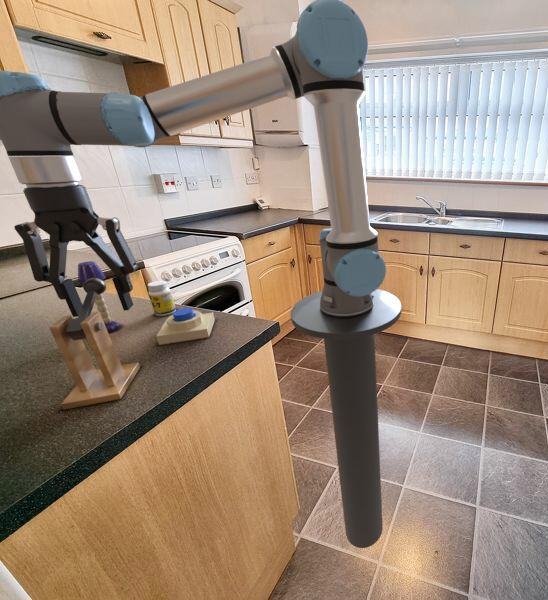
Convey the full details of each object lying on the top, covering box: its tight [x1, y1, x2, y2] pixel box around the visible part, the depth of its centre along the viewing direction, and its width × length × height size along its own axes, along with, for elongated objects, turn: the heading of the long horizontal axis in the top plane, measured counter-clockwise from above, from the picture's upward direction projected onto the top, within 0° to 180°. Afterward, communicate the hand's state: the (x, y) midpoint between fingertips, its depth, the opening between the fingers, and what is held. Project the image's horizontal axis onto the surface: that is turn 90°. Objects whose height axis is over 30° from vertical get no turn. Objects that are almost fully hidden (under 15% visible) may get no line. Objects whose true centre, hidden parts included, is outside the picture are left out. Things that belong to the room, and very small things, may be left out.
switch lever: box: [65, 278, 107, 340], centre depth 59 cm, size 13×3×3 cm, turn 20°
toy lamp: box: [77, 260, 121, 334], centre depth 78 cm, size 5×5×17 cm
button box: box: [155, 309, 216, 346], centre depth 79 cm, size 10×9×4 cm
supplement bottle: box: [147, 280, 177, 317], centre depth 88 cm, size 5×5×8 cm
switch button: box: [172, 307, 195, 322], centre depth 78 cm, size 4×4×2 cm
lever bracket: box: [48, 311, 141, 410], centre depth 58 cm, size 10×8×14 cm
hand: (104, 310), depth 64 cm, fingers open, 7 cm apart
